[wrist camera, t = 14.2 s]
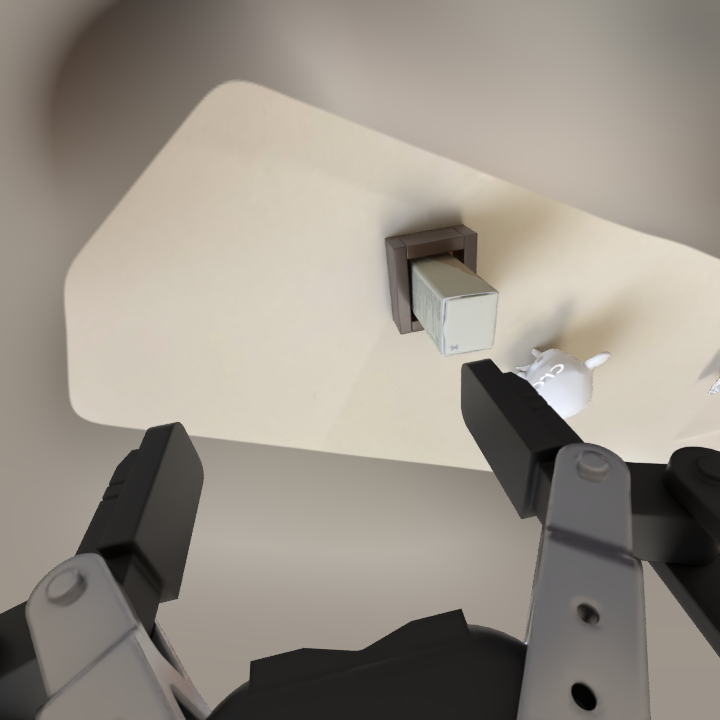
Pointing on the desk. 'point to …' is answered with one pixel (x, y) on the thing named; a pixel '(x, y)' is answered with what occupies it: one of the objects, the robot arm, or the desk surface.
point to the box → (452, 304)
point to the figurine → (562, 379)
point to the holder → (418, 245)
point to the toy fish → (715, 387)
